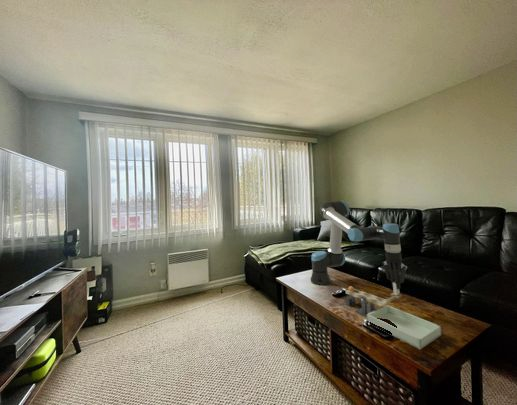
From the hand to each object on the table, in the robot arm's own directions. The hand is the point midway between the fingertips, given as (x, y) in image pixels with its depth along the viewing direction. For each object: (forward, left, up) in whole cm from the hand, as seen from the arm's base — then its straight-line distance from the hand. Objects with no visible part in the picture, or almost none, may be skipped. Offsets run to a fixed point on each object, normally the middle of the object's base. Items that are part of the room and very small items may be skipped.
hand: (396, 294), depth 114 cm
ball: (-19, -13, 0) cm, 23 cm away
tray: (+9, -13, -10) cm, 19 cm away
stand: (-12, -13, -10) cm, 21 cm away
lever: (-10, -7, -3) cm, 12 cm away
